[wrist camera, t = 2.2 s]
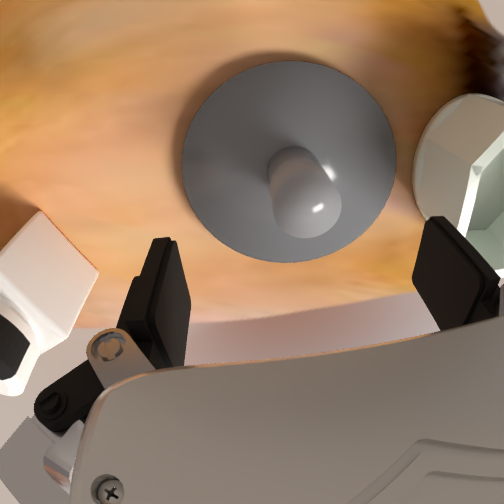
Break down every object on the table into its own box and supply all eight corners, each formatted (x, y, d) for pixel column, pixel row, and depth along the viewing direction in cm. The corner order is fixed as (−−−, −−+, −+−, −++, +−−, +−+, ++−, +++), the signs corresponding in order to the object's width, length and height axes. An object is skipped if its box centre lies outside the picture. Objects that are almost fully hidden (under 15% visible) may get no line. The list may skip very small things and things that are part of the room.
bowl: (530, 107, 15) (583, 132, 10) (504, 231, 22) (542, 271, 17) (418, 81, 16) (476, 98, 11) (400, 238, 22) (435, 291, 17)
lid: (392, 65, 16) (446, 75, 11) (377, 246, 23) (407, 300, 18) (171, 71, 16) (139, 79, 11) (201, 259, 23) (191, 318, 18)
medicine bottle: (6, 251, 22) (-65, 350, 12) (41, 207, 20) (-53, 319, 10) (59, 304, 25) (8, 412, 16) (101, 271, 23) (44, 401, 14)
